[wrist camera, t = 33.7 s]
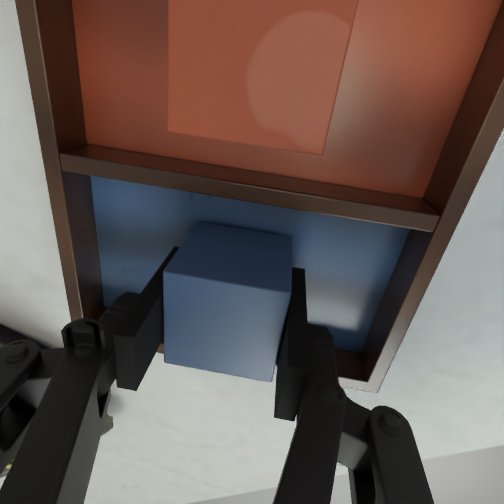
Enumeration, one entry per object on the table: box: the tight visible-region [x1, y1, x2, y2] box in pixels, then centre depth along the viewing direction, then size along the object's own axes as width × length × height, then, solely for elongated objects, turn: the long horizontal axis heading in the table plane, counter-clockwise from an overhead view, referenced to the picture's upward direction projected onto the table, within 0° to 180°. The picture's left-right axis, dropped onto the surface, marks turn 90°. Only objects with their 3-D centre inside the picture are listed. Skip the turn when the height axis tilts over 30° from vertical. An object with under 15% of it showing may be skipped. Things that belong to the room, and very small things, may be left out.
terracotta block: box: [167, 0, 359, 156], centre depth 11 cm, size 5×5×5 cm
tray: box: [15, 0, 504, 393], centre depth 15 cm, size 21×18×3 cm
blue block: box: [163, 222, 293, 382], centre depth 16 cm, size 5×5×5 cm
